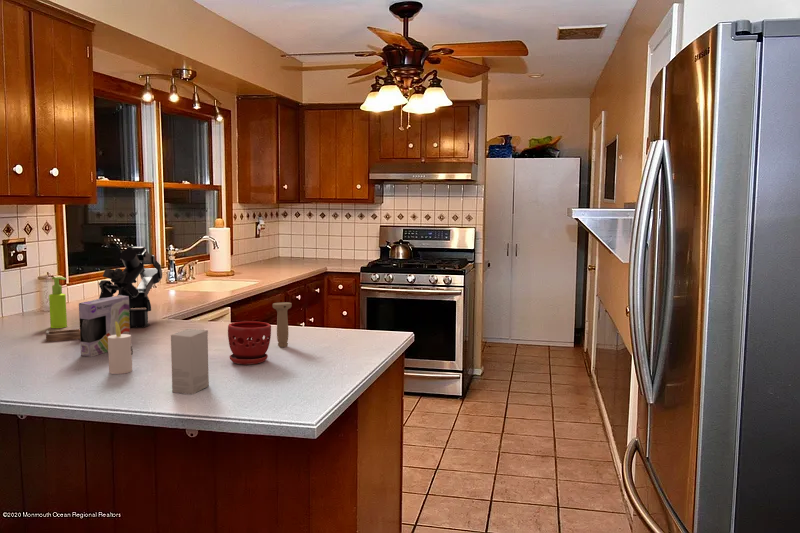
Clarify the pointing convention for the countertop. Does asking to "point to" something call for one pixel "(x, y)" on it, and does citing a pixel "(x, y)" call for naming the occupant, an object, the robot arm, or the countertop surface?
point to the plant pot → (249, 342)
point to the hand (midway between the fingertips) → (104, 305)
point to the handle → (282, 322)
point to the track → (62, 335)
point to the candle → (120, 352)
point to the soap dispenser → (57, 305)
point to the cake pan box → (102, 323)
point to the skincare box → (189, 361)
